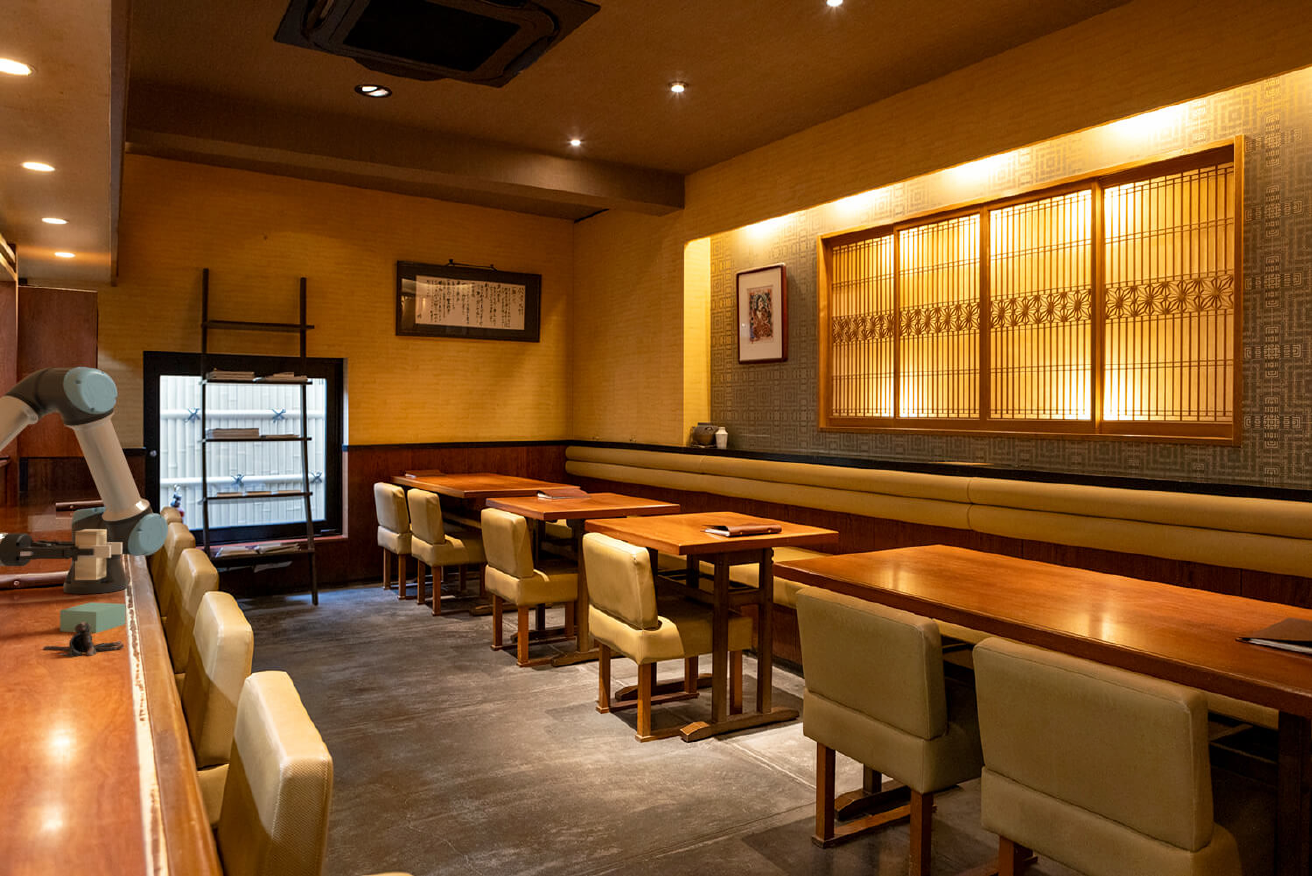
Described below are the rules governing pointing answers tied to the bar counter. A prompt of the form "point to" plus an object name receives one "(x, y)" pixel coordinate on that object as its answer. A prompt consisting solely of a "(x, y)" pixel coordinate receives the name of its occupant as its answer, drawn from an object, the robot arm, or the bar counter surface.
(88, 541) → the block
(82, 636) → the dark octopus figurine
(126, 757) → the bar counter surface
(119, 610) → the green square block
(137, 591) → the bar counter surface
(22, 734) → the bar counter surface
